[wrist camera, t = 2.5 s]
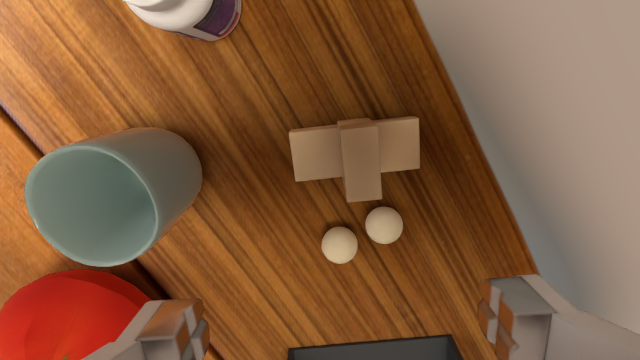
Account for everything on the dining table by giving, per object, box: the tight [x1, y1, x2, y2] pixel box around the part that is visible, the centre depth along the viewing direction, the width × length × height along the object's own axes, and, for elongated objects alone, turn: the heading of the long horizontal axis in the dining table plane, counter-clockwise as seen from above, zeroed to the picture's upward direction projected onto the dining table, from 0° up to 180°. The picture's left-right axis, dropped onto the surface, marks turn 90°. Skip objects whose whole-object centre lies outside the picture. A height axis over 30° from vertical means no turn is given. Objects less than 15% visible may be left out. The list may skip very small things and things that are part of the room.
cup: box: [24, 127, 203, 267], centre depth 24 cm, size 8×8×10 cm
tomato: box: [0, 269, 152, 360], centre depth 29 cm, size 14×16×10 cm
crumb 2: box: [365, 207, 403, 244], centre depth 28 cm, size 3×3×3 cm
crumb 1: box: [322, 227, 358, 264], centre depth 29 cm, size 3×3×3 cm
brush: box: [289, 116, 420, 203], centre depth 25 cm, size 10×5×7 cm, turn 96°
